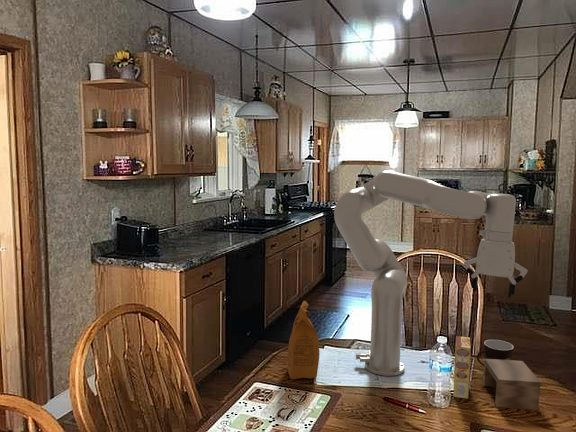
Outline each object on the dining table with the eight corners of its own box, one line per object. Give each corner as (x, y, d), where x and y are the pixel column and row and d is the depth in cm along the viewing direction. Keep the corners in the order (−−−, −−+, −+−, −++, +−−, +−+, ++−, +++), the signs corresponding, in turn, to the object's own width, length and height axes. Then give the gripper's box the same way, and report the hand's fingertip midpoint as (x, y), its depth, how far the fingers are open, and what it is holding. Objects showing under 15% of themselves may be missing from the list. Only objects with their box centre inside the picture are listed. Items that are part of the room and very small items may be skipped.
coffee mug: (506, 369, 164) (508, 340, 162) (515, 381, 155) (517, 350, 154) (469, 367, 165) (471, 338, 163) (476, 379, 156) (478, 348, 155)
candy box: (468, 399, 144) (472, 348, 141) (452, 397, 145) (456, 346, 143) (467, 385, 152) (470, 337, 150) (452, 383, 153) (455, 335, 151)
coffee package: (318, 364, 165) (319, 299, 162) (319, 382, 153) (321, 312, 150) (287, 363, 165) (289, 298, 163) (286, 380, 153) (287, 311, 150)
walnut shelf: (496, 406, 140) (498, 379, 139) (482, 383, 153) (484, 358, 152) (538, 409, 138) (540, 382, 137) (520, 386, 152) (522, 360, 151)
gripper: (464, 234, 147) (459, 291, 149) (530, 242, 139) (523, 302, 141) (468, 231, 153) (463, 285, 156) (531, 238, 145) (525, 295, 148)
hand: (492, 293), depth 148 cm, fingers open, 9 cm apart
